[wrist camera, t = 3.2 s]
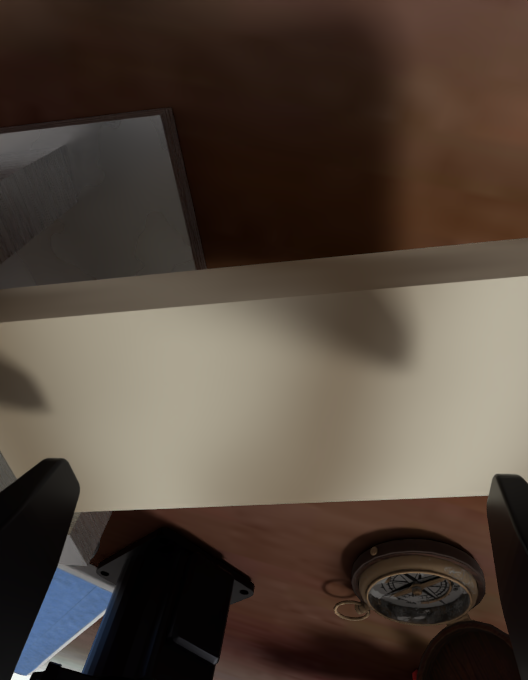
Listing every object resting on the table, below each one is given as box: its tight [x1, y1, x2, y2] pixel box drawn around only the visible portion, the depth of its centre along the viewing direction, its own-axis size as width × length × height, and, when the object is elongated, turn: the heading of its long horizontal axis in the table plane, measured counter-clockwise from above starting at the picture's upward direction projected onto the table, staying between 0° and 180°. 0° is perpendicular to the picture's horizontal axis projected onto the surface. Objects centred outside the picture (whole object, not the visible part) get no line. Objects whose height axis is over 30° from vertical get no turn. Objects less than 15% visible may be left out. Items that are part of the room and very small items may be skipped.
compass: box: [334, 539, 521, 680], centre depth 22 cm, size 8×8×7 cm
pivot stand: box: [0, 107, 207, 567], centre depth 14 cm, size 8×12×7 cm
